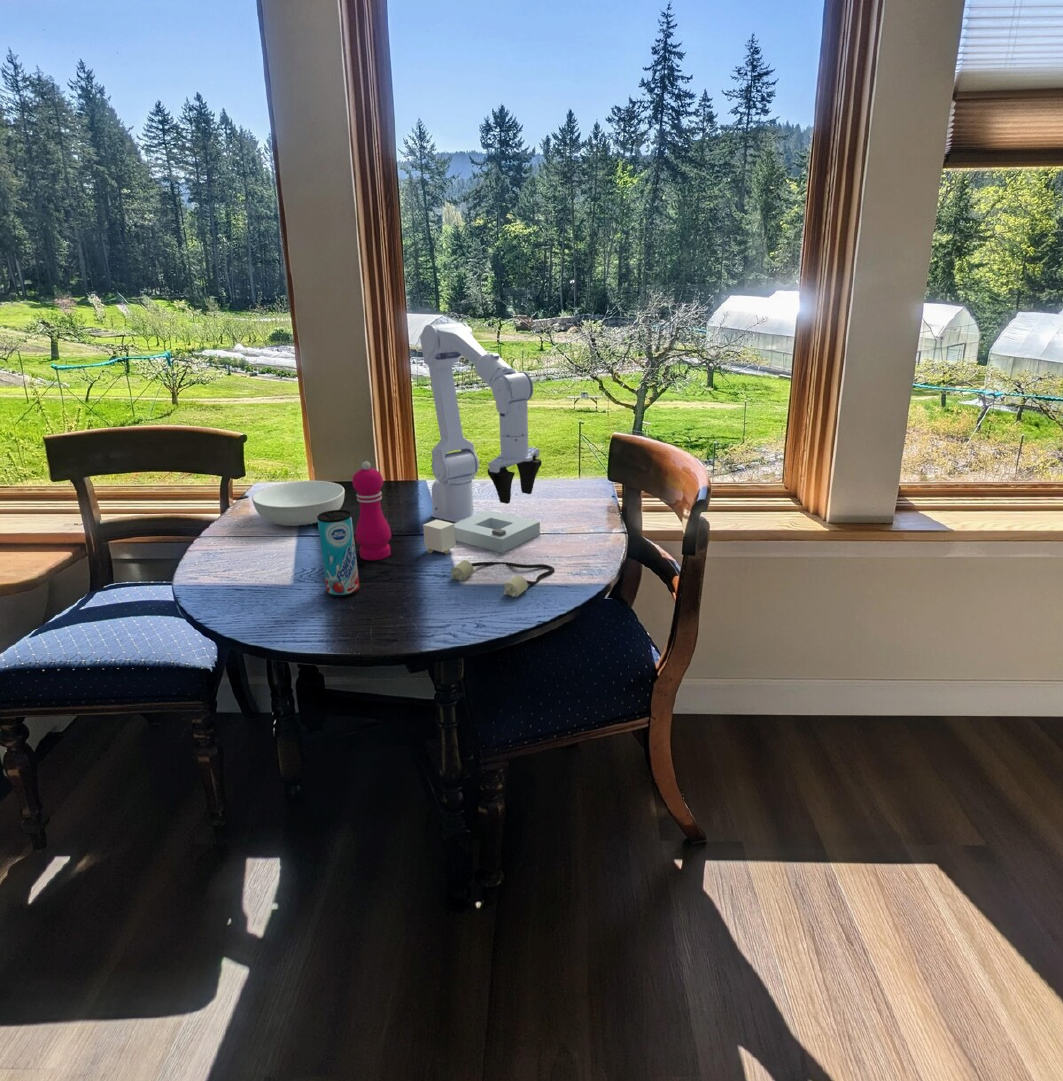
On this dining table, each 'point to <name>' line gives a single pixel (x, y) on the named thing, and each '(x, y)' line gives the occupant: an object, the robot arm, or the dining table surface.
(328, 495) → the serving bowl
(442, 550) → the cream rectangular block
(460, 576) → the cable
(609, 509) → the dining table surface
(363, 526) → the pepper mill
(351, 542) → the beverage can
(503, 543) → the socket plate
